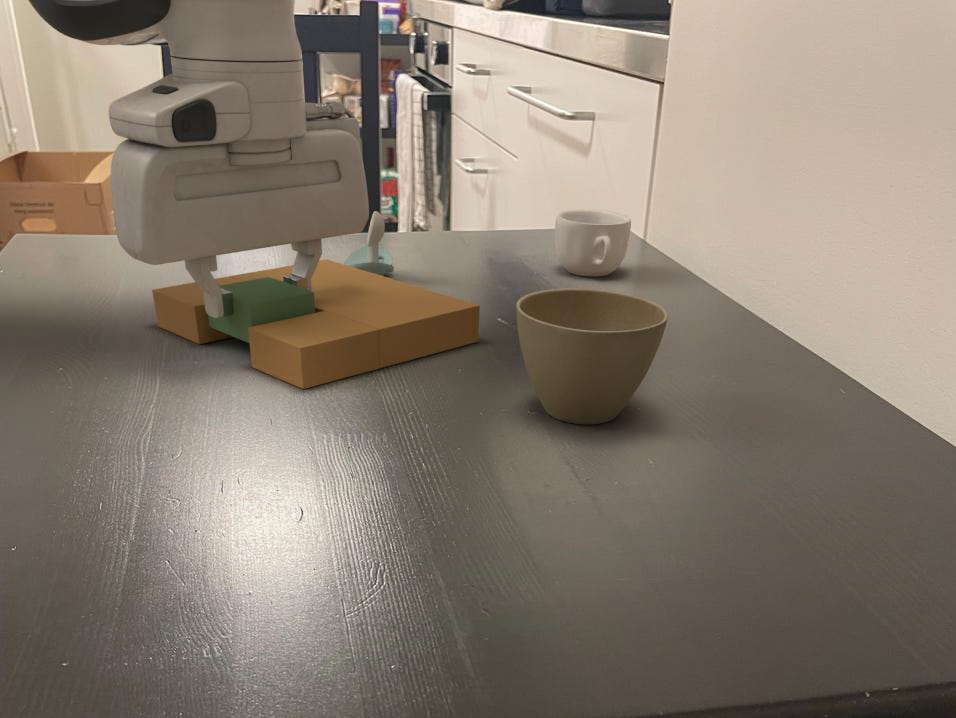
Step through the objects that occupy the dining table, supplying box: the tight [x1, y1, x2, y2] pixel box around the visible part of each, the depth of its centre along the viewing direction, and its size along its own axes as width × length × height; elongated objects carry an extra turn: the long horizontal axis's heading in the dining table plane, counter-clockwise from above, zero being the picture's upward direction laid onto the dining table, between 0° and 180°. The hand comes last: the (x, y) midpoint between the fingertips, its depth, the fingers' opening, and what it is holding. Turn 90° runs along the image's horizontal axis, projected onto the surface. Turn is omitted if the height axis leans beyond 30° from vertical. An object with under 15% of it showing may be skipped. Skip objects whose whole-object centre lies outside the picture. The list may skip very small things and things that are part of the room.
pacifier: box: [344, 210, 395, 276], centre depth 95 cm, size 7×6×6 cm
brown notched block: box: [152, 259, 481, 390], centre depth 80 cm, size 20×18×3 cm
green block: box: [208, 277, 315, 344], centre depth 76 cm, size 6×6×3 cm
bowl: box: [515, 287, 669, 425], centre depth 65 cm, size 10×10×7 cm
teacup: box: [554, 209, 632, 277], centre depth 100 cm, size 10×8×5 cm
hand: (260, 307), depth 75 cm, fingers closed on green block, 6 cm apart
